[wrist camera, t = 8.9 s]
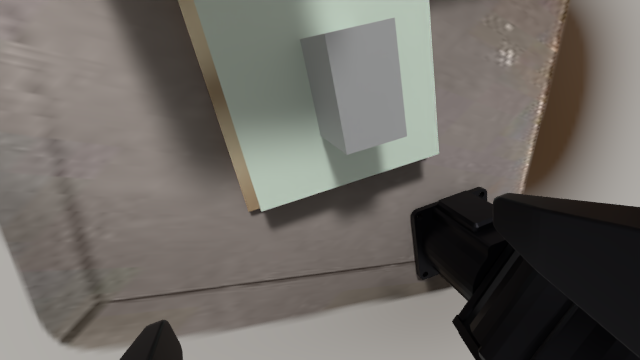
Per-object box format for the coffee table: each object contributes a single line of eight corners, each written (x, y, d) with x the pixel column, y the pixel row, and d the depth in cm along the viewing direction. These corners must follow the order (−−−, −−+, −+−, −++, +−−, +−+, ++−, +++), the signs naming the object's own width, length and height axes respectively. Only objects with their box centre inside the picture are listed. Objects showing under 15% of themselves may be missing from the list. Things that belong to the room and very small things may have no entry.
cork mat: (425, 151, 24) (430, 153, 23) (247, 207, 21) (248, 211, 21) (407, -65, 18) (413, -69, 18) (170, -24, 16) (168, -27, 15)
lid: (421, 146, 23) (486, 173, 17) (257, 198, 20) (272, 248, 15) (403, -52, 18) (484, -100, 13) (189, -13, 16) (176, -50, 10)
